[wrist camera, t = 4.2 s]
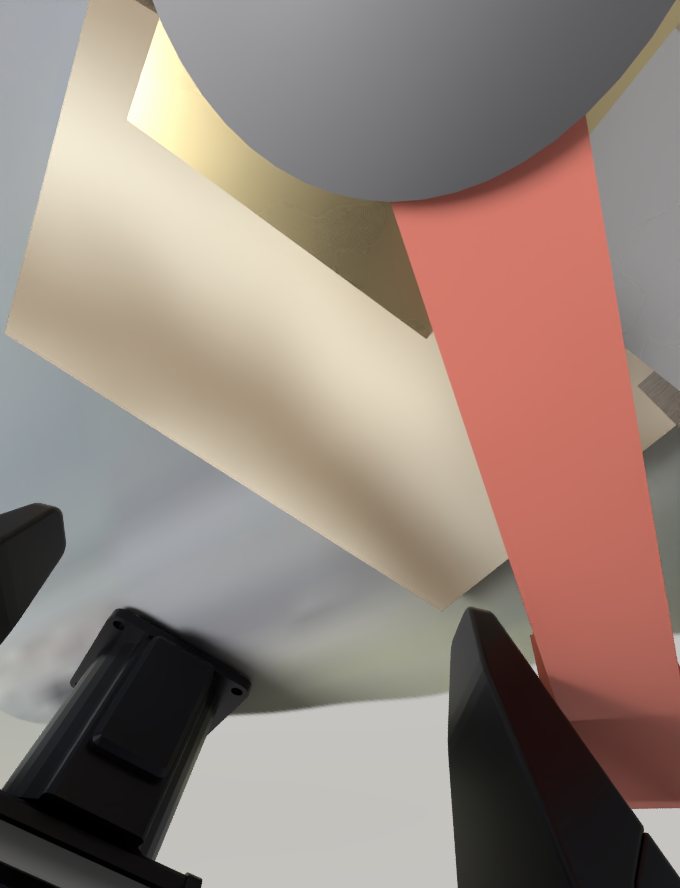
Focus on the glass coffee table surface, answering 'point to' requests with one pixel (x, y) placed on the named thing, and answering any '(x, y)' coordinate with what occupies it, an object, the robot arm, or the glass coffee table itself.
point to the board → (249, 339)
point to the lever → (494, 291)
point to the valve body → (375, 227)
